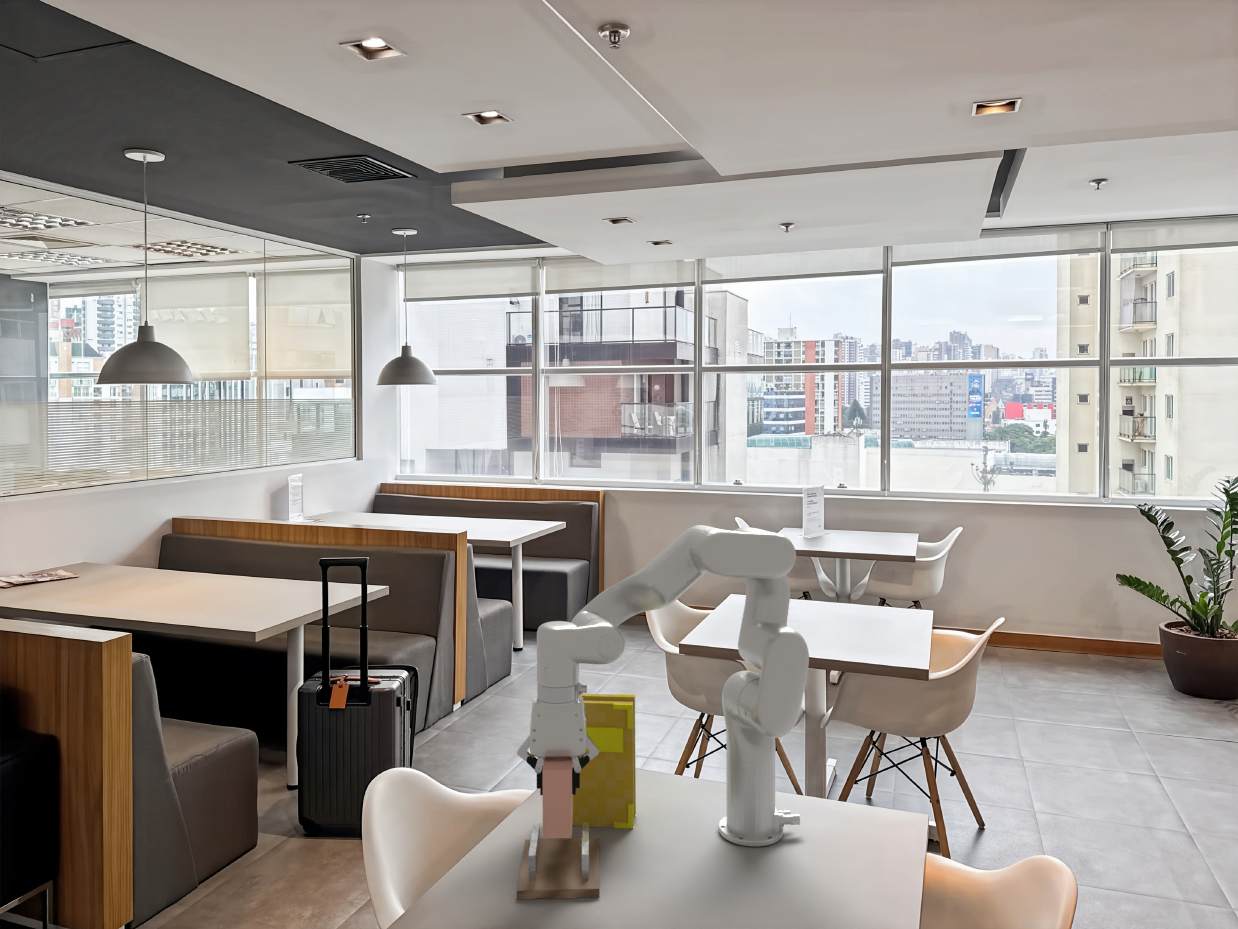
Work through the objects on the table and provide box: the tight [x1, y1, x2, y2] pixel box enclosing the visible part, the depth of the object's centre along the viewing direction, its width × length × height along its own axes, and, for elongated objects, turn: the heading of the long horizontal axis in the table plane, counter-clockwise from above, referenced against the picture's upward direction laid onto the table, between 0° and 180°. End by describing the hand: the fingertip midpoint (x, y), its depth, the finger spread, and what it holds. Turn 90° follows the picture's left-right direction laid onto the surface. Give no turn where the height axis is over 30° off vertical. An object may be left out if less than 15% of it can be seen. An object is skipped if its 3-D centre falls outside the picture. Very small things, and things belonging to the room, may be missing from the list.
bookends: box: [528, 822, 590, 881], centre depth 155 cm, size 10×12×4 cm
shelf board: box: [516, 837, 600, 900], centre depth 155 cm, size 14×18×2 cm
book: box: [572, 693, 637, 829], centre depth 174 cm, size 17×7×25 cm, turn 84°
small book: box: [542, 757, 573, 839], centre depth 154 cm, size 5×11×12 cm, turn 2°
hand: (558, 790), depth 154 cm, fingers closed on small book, 5 cm apart
